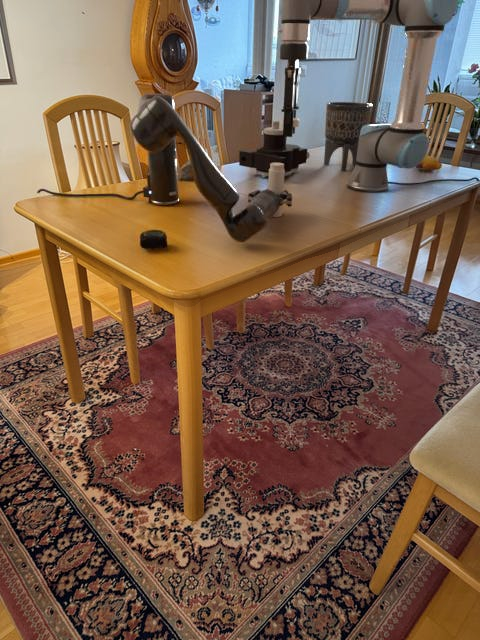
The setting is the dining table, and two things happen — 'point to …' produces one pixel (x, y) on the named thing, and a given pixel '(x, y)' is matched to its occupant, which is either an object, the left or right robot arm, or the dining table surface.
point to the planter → (345, 128)
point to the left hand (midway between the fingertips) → (277, 192)
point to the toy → (429, 164)
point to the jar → (276, 181)
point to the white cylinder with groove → (295, 122)
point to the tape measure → (153, 239)
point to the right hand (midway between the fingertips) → (288, 134)
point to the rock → (186, 172)
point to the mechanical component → (274, 153)
